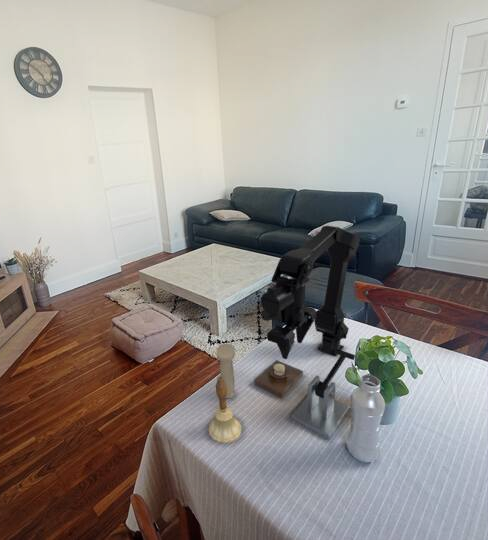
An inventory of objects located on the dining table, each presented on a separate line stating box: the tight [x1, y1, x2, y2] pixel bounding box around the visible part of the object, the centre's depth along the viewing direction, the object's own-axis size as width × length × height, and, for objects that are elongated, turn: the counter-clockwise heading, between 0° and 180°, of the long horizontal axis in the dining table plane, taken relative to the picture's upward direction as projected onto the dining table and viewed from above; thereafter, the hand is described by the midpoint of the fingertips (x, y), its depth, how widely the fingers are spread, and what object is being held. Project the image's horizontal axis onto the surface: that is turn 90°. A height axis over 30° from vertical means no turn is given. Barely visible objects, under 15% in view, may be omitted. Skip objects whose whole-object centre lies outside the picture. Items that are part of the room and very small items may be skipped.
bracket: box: [290, 375, 350, 440], centre depth 84 cm, size 12×10×10 cm
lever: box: [315, 349, 356, 399], centre depth 87 cm, size 16×5×2 cm, turn 136°
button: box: [274, 364, 285, 375], centre depth 98 cm, size 3×3×2 cm
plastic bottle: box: [346, 374, 386, 463], centre depth 71 cm, size 6×7×20 cm
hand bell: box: [208, 376, 243, 444], centre depth 82 cm, size 8×8×16 cm
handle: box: [216, 343, 236, 399], centre depth 93 cm, size 5×6×15 cm
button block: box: [254, 359, 304, 399], centre depth 99 cm, size 12×9×4 cm
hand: (292, 350), depth 95 cm, fingers open, 9 cm apart
